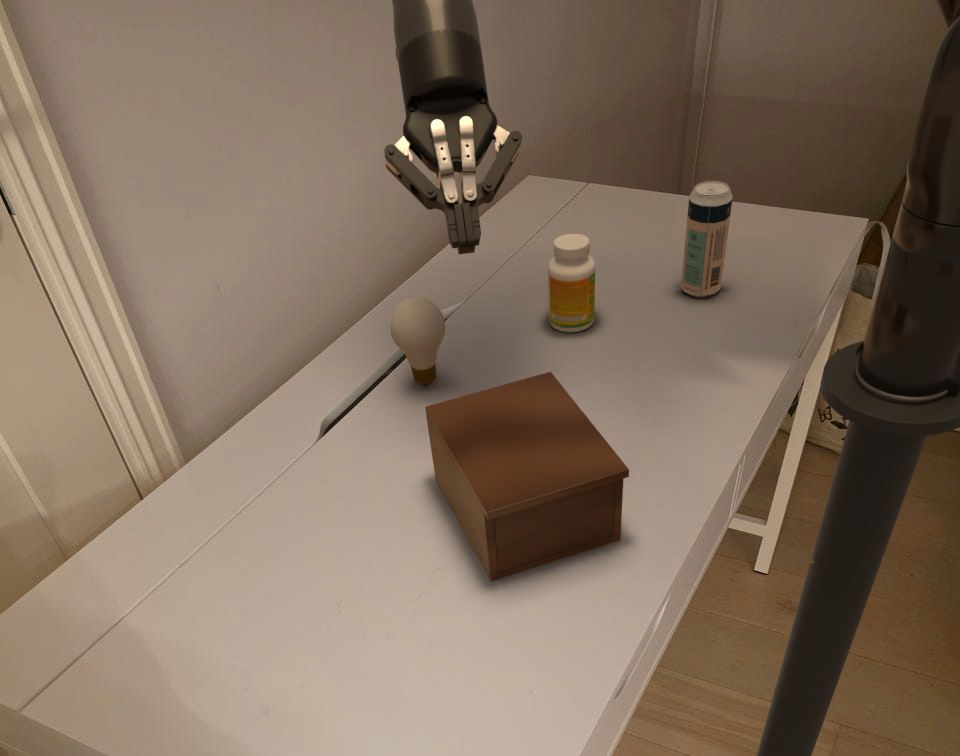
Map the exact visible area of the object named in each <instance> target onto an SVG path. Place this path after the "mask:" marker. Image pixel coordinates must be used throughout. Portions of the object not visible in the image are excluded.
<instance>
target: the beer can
mask: <svg viewBox="0 0 960 756" xmlns="http://www.w3.org/2000/svg"><path fill="white" fill-rule="evenodd" d="M732 205H733V194H732V191H731V187H730V186H729V185H728V183H725V182H724V181H719V180H706V181H703V182H698V183H697V184H696V185H695V186H694V187H693V190H692V191H691V193H690V194H689V197H688V207H687V216H686V217H687V219H686V228H685V239H684V249H683V260H682V269H681V270H682V271H681V281H680V288H681V290H682V291H683V292H684V293H686V294H687V295H689V296H691V297H696V298H706V297H709V296H712V295H714V294H716V293H718V292H719V291H720V290H721V288H722V284H723V283H722V281H723V275H724V269H725V268H724V267H725V260H726V259H725V258H726V252H727V243H728V238H729V237H728V236H729V228H730V222H731V221H730V220H731V214H732V213H731V212H732Z"/></svg>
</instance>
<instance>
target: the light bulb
mask: <svg viewBox="0 0 960 756" xmlns="http://www.w3.org/2000/svg"><path fill="white" fill-rule="evenodd" d="M389 329H390V335H391V337H392V340H393V342H394V344H395V345H396V346H397V348H399V350H401V352H402V353H403V355H404V356H405V358H406V360H407V362H408V364H409V365H410V369H411V373H412V378H413V382H414V383H415V384H418V385H421V386H424V387H428V386H430V385H431V384H432V383H434V382H436V380H437V378H438V376H437V363H436V362H437V359H438V352H439V348H440V346H441V344H442V343H443V341H444V338H445V334H446V321H445V317H444V314H443V311H442V310H441V309H440V307H439V306H438V305H437V304H436V303H435V302H433V301H432V300H430V299H429V298H426V297H422V296H412V297H408V298H405V299H404V300H402V301H401V302H400V303H398V304H397V306H396V307H395V308H394V309H393V311H392V314H391V317H390V321H389Z"/></svg>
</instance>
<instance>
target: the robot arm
mask: <svg viewBox="0 0 960 756" xmlns="http://www.w3.org/2000/svg"><path fill="white" fill-rule="evenodd" d="M935 1H936V4H937V5H938V7H939V8H938V9H939V11H940V14H941V17H942V20H943V22H944V25H945V29H946V32H945V34H944V35H943V37H942V39H941V41H940V43H939V46H938V48H937V51H936V53H935V56H934V58H933V62H932V65H931V68H930V71H929V75H928V79H927V83H926V87H925V91H924V93H923V98H922V102H921V106H920V109H919V114H918V119H917V122H916V126H915V130H914V134H913V139H912V142H911V147H910V151H909V155H908V159H907V165H906V182H905V186H904V187H905V188H904V191H903V195H902V198H901V202H900V206H899V210H898V214H897V218H896V221H895V225H894V229H893V232H892V235H891V240H890V242H889V243H890V244H889V248H888V251H887V255H886V259H885V262H884V266H883V269H882V273H881V276H880V281H879V284H878V288H877V292H876V295H875V299H874V303H873V306H872V310H871V313H870V317H869V321H868V325H867V328H866V332H865V336H864V339H863V340H862V341H863V342H862V343H861V344H860V345H859V346H858V347H857V350H856V354H855V357H856V356H857V355H858V354H859V353H860V356H859V360H858V362H857V365H856V368H855V373H854V375H855V380H856V382H857V383H858V385H859V386H860V387H861V388H862V389H863V390H865V391H866V392H867V393H869V394H871V395H873V396H875V397H877V398H879V399H882V400H885V401H889V402H893V403H899V404H909V405H917V404H927V403H932V402H935V401H938V400H941V399H943V398H945V397H957V396H958V393H959V390H960V0H935ZM391 2H392V13H393V37H394V43H395V44H394V45H395V57H396V61H397V64H398V71H399V79H400V84H401V91H402V92H401V93H402V99H403V104H404V113H405V120H404V123H403V126H402V136H401V138H400V139H399V140H398V141H397V142H396V143H395V144H392V143H391V144H388V145H386V146H385V148H384V164H385V165H384V166H385V168H386V169H387V171H388V172H389V173H390V174H391V175H392V177H394V178H395V179H396V180H397V181H398V182H399V183H400V184H401V185H402V186H403V187H404V188H405V189H406V190H407V191H408V192H409V193H410V194H411V195H412V196H413V197H414V198H415V199H416V200H417V201H418V202H419V203H420V204H421V205H422V206H423V207H424V208H425V209H427V210H434V209H435V210H438V211H441V212H442V213H443V214H444V216H445V221H446V229H447V235H448V243H449V245H450V247H451V248H452V249H457V255H465V254H473V253H475V252H476V246H480V242H481V239H482V238H481V236H482V228H481V221H480V215H479V207H480V206H481V205H483V204H490V203H492V202H493V200H494V198H495V197H496V195H497V193H498V192H499V190H500V187H501V186H502V184H503V182H504V181H505V179H506V177H507V175H508V173H509V172H510V170H511V168H512V167H513V165H514V163H515V162H516V160H517V158H518V156H519V154H520V150H521V146H522V142H523V141H522V140H523V135H522V133H521V132H520V131H519V130H512V131H508V130H506V129H505V128H503V127H501V126H500V125H498V117H497V116H496V113H495V112H494V111H493V110H492V108H491V106H490V102H489V95H488V94H489V93H488V88H487V81H486V74H485V67H484V66H485V65H484V59H483V53H482V52H483V51H482V44H481V38H480V31H479V30H480V29H479V23H478V18H477V13H476V10H475V6H474V2H473V0H391ZM492 142H494V148H493V154H494V156H495V158H494V160H493V162H492V165H491V166H490V168H489V170H488V171H487V173H486V174H485V177H484V178H483V180H482V181H481V182H479V183H477V171H476V170H477V167H479V166H480V164H481V163H482V161H483V159H484V157H485V155H486V153H487V152H488V149H489V148H490V145H491V143H492ZM413 154H414V155H415V156H416V158H418V160H419V161H420V162H421V163H422V164H423V165H424V166H425V167H426V168H427V169H428V170H429V171H430V172H432V173H434V174H435V177H436V182H437V186H438V187H437V186H436V185H435V184H434V183H433V182H432V181H431V180H430V179H429V178H428V177H427V176H426V175H425V174H424V173H423V172H422V171H421V170H420V169H419V168H418V167H417V166H416V165H415V164H414V157H413V156H414V155H413ZM455 173H458V174H459V185H460V192H461V194H460V195H461V203H459V202H460V201H459V192H458V187H457V183H456V178H455Z"/></svg>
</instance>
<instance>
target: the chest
mask: <svg viewBox="0 0 960 756" xmlns="http://www.w3.org/2000/svg"><path fill="white" fill-rule="evenodd" d="M425 418H426V424H427V431H428V436H429V444H430V452H431V457H432V464H433V465H432V466H433V471H434V477H435V482H436V483H437V486H438V487H439V489H440V491H441V493H442V495H443V497H444V498H445V500H446V502H447V503H448V506H449V507H450V510H451V511H452V513H453V515H454V516H455V518H456V521H457V522H458V524H459V526H460V527H461V530H462V531H463V534H464V535H465V537H466V538H467V540H468V542H469V544H470V546H471V548H472V550H473V552H474V553H475V555H476V557H477V559H478V561H479V562H480V565H481V566H482V568H483V570H484V571H485V574H486V575H487V577H488V579H489V581H490V582H493V581H497V580H500V579H502V578H506V577H509V576H512V575H515V574H518V573H521V572H525V571H527V570H531V569H534V568H537V567H540V566H543V565H547V564H550V563H552V562H556V561H559V560H562V559H565V558H569V557H571V556H576V555H578V554H581V553H584V552H587V551H591V550H594V549H598V548H600V547H603V546H606V545H609V544H613V543H615V542H618V541H621V539H622V518H623V517H622V516H623V496H624V480H625V478H624V479H621V480H617V481H614V482H611V483H607V484H604V485H601V486H598V487H594V488H591V489H588V490H585V491H581V492H578V493H575V494H571V495H568V496H565V497H562V498H558V499H555V500H552V501H549V502H545V503H542V504H539V505H535V506H532V507H529V508H526V509H522V510H519V511H516V512H513V513H509V514H506V515H503V516H500V517H496V518H493V519H490V520H488V519H487V518H486V516H485V514H484V512H483V511H482V509H481V507H480V506H479V504H478V502H477V500H476V499H475V497H474V495H473V494H472V492H471V490H470V488H469V487H468V485H467V483H466V482H465V480H464V478H463V476H462V475H461V473H460V471H459V470H458V468H457V466H456V464H455V463H454V461H453V459H452V457H451V456H450V454H449V452H448V451H447V449H446V447H445V445H444V444H443V442H442V440H441V439H440V437H439V435H438V433H437V432H436V430H435V428H434V427H433V425H432V423H431V421H430V420H429V418H428V416H427V414H426V413H425Z"/></svg>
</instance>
